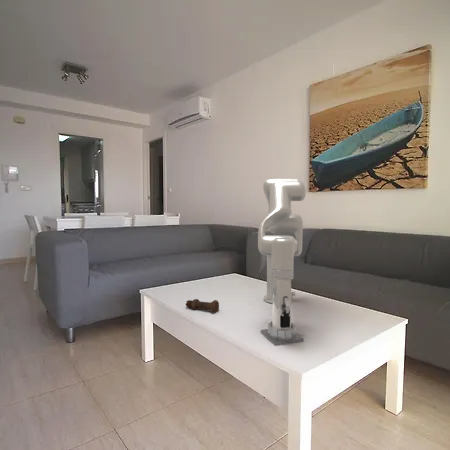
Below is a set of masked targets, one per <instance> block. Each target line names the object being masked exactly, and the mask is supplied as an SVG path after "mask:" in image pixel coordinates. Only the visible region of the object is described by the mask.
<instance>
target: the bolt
mask: <svg viewBox="0 0 450 450" xmlns="http://www.w3.org/2000/svg"><path fill="white" fill-rule="evenodd" d="M185 306H186V308H190V309H192V310H194V311H197V310H205V311H211V313H212V314H216V313H218V312H219V309H220V302H219V301H218V299H215V300H212V301H200V300H199V299H198V298H194V299H193V300H190V299H188V300H186V301H185Z"/></svg>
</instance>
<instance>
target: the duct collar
mask: <svg viewBox="0 0 450 450" xmlns="http://www.w3.org/2000/svg"><path fill="white" fill-rule="evenodd" d="M260 333H261V334H262V335H263V336H264V337H265V338H266V339H267V340H268V341H269V342H270V343H271V344H272V345H273V344H274V345H273V346H280V345H281V344H282V345H288V344H295V343H301V342H300V341H302V342H304V341H305V338H304V337H303V336H301V335H300V334H299V333H297V325H295V324H294V323H293V322H291V329H288V330H279V329H275V328H273V327H272V320H271V321H269V322H268V323H267V328H265V329H260ZM294 342H295V343H294Z"/></svg>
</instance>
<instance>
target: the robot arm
mask: <svg viewBox="0 0 450 450" xmlns="http://www.w3.org/2000/svg"><path fill="white" fill-rule="evenodd" d="M262 187H263V188H262V189H263V192H264V196H265V199H266V201H267V205H268V214H267V215H266V216H265V217H264V218H263V219H262V221H261V223H260V224H259V227H258V232H257V234H258V235H257V248H258V252H259V254H261V255H262V256H266V295H265V296H263V301H264V302H266V303H267V304H268V303H269V304H273V302H274V305H275V307H276V308H277V309H279V308H280V309H281V315H280V327H281V328H289V327H290V307H291V308H292V297H295V296H296V295H297V294H296V292H295V291H292V280H293V279H294V262H295V261H294V260H295V259H294V258H295V257H299V256H300V255H301V254H302V252H303V230H304V228H303V226H304V225H303V218H302V216H301V215H300V214H296V213H292V202H302V201H304V199H305V197H306V193H307V192H306V186H305V183H304V181H303V180H302V179H301V178H299V177H298V178H297V177H296V178H295V177H291V178H290V177H285V178H284V177H280V178H279V177H274V178H267V179H265V180H264V182H263V186H262ZM267 230H269V232H270V233H271V234H269V235H266V232H267ZM273 234H275V235H273ZM283 300H284V301H283ZM283 309H285V310H284V312H283Z"/></svg>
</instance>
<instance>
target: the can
mask: <svg viewBox="0 0 450 450" xmlns="http://www.w3.org/2000/svg"><path fill="white" fill-rule="evenodd" d="M283 301H284V300H283ZM284 310H285V309H283V312H284ZM280 315H281V309H280V308H279V309H277V308H276V307H275V305H274V302H273V303H272V317H271V318H272V320H271V321H272V327H273V328H275V329H279V330H288V329H291V323H292V306H291V307H290V327H289V328H281V327H280Z"/></svg>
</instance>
